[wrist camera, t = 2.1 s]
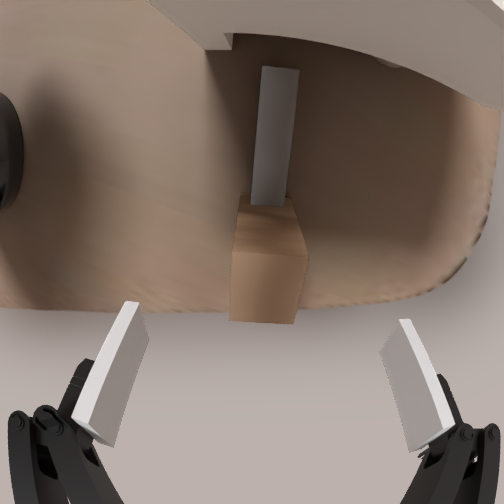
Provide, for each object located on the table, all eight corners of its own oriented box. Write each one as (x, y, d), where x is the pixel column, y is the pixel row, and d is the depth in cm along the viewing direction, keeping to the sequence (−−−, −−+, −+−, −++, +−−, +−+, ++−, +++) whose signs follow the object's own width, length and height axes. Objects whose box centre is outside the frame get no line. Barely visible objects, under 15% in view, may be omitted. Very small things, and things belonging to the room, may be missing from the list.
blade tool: (237, 246, 24) (229, 320, 16) (250, 69, 16) (246, 43, 9) (282, 249, 24) (293, 324, 17) (305, 75, 16) (341, 57, 9)
